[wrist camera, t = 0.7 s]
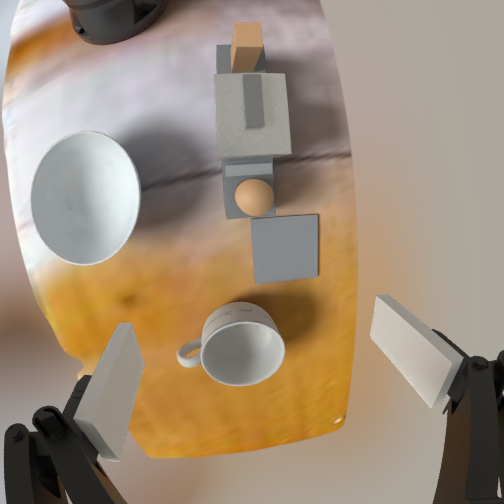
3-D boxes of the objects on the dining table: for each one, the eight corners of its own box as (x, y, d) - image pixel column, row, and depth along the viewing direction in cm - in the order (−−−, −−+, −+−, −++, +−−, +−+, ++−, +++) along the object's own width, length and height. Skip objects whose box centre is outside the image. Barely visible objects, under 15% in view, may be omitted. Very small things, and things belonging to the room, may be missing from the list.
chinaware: (60, 145, 29) (30, 141, 22) (157, 134, 31) (142, 124, 24) (63, 248, 33) (36, 264, 26) (156, 248, 35) (142, 266, 28)
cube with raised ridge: (214, 93, 27) (214, 70, 20) (272, 91, 27) (287, 70, 21) (218, 161, 29) (218, 156, 22) (277, 157, 29) (294, 152, 23)
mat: (250, 218, 36) (251, 219, 36) (316, 214, 37) (317, 214, 37) (255, 283, 38) (255, 284, 38) (316, 276, 39) (317, 277, 39)
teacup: (277, 293, 39) (291, 320, 32) (270, 354, 42) (280, 387, 35) (178, 291, 37) (171, 319, 30) (182, 354, 40) (177, 388, 33)
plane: (216, 61, 30) (217, 15, 18) (257, 59, 30) (275, 16, 19) (225, 213, 35) (230, 231, 24) (267, 210, 36) (292, 226, 24)
